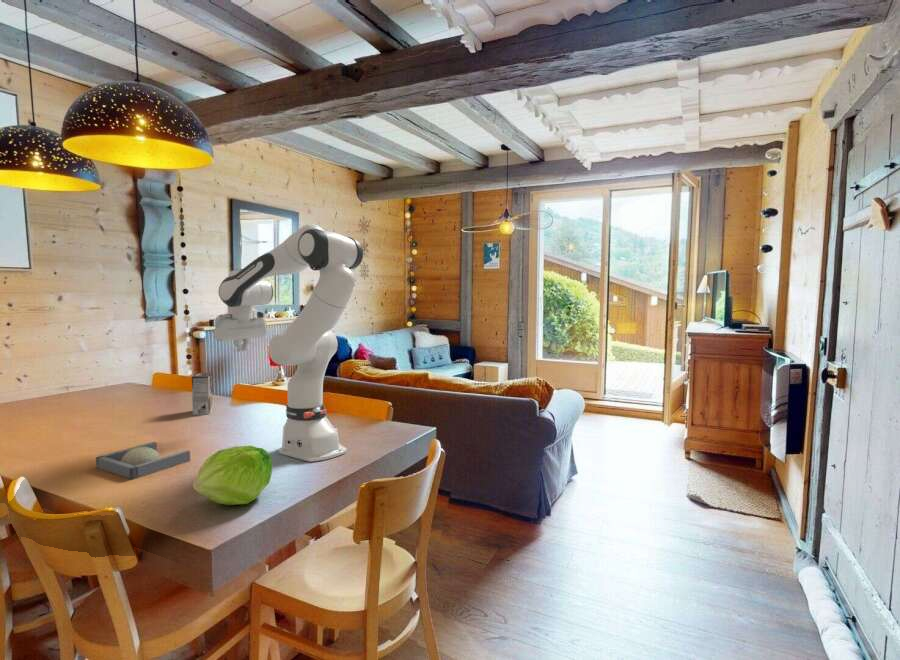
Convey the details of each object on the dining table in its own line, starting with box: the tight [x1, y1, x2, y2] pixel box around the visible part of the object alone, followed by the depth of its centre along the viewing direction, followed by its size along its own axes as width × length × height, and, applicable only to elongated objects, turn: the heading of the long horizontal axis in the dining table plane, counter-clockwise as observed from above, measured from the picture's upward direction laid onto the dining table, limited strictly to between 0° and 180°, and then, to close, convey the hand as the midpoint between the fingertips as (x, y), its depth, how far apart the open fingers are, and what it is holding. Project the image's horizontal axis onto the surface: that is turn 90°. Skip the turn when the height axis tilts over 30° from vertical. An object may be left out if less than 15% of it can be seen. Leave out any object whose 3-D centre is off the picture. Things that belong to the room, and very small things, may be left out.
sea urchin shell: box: [121, 447, 161, 466], centre depth 138 cm, size 9×8×8 cm
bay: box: [95, 441, 191, 480], centre depth 139 cm, size 16×18×3 cm
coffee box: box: [191, 372, 214, 416], centre depth 199 cm, size 9×6×16 cm
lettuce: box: [192, 445, 273, 506], centre depth 114 cm, size 15×20×14 cm
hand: (241, 351), depth 174 cm, fingers closed
